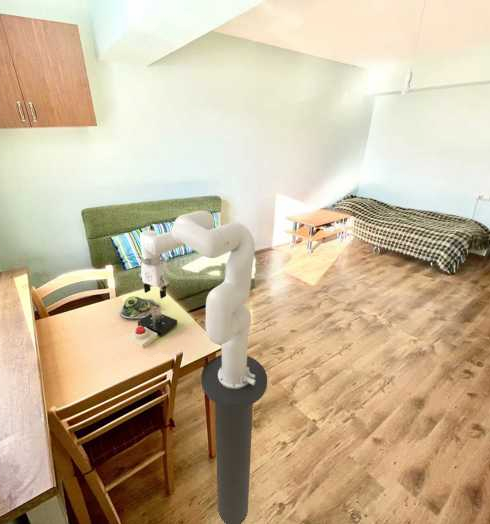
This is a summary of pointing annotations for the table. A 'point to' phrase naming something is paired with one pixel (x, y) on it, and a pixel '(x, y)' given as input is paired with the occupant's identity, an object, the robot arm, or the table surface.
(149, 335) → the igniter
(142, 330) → the igniter button
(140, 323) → the hob panel
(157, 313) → the stove knob
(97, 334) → the table surface
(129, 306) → the salad plate
